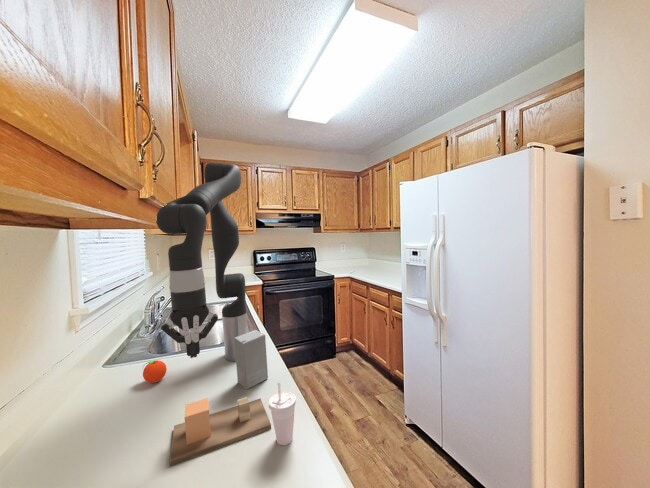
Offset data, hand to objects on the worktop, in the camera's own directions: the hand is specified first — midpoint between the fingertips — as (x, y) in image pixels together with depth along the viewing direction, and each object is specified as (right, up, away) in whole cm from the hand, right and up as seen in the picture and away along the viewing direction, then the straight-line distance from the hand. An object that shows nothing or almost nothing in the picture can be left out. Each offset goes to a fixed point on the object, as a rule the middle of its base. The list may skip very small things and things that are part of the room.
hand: (193, 356), depth 66 cm
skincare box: (+9, -18, +23) cm, 30 cm away
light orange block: (+2, -19, -1) cm, 19 cm away
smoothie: (+23, -19, -3) cm, 30 cm away
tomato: (-26, -20, +26) cm, 42 cm away
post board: (+6, -19, +2) cm, 20 cm away
